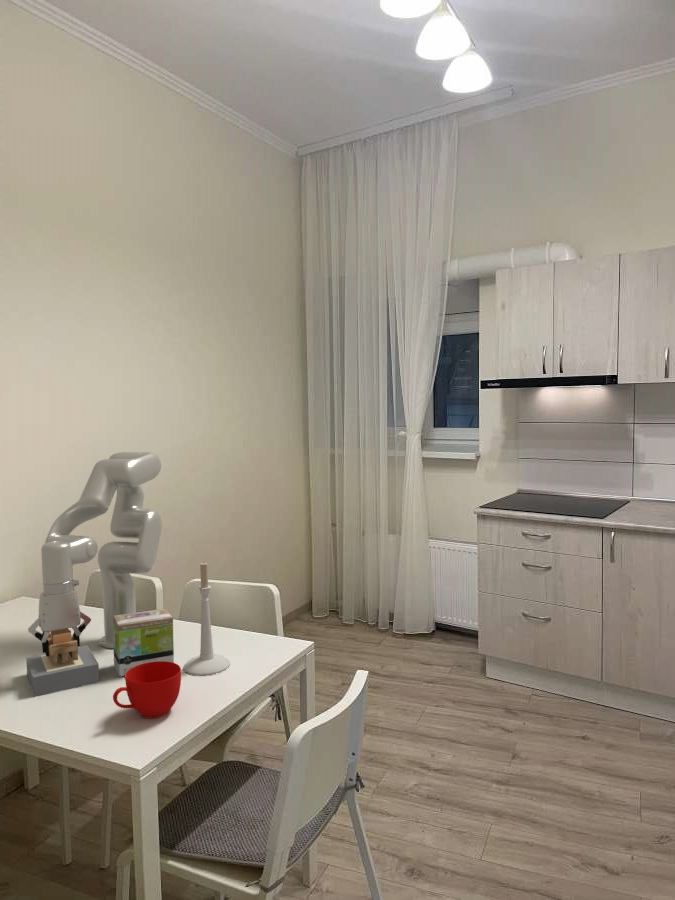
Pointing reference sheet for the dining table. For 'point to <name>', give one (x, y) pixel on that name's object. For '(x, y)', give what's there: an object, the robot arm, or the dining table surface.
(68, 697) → the dining table surface
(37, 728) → the dining table surface
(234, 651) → the dining table surface
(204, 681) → the dining table surface
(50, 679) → the dock
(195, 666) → the candlestick
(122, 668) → the tea box
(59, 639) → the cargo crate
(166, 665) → the ceramic cup
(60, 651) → the pallet
